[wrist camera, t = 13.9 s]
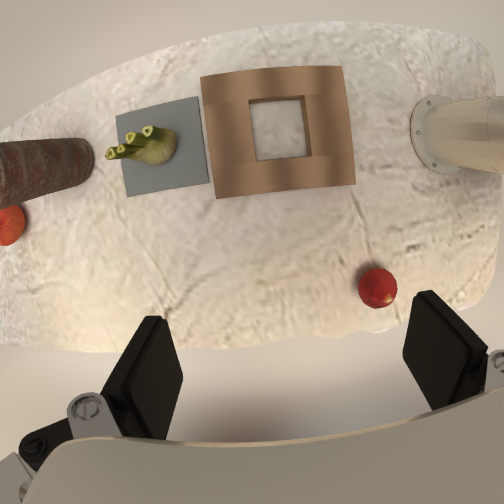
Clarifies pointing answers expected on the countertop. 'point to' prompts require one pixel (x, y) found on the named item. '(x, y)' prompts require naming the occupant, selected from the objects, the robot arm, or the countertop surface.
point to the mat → (184, 157)
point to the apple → (11, 225)
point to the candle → (41, 168)
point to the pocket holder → (241, 137)
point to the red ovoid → (377, 288)
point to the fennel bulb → (146, 146)
